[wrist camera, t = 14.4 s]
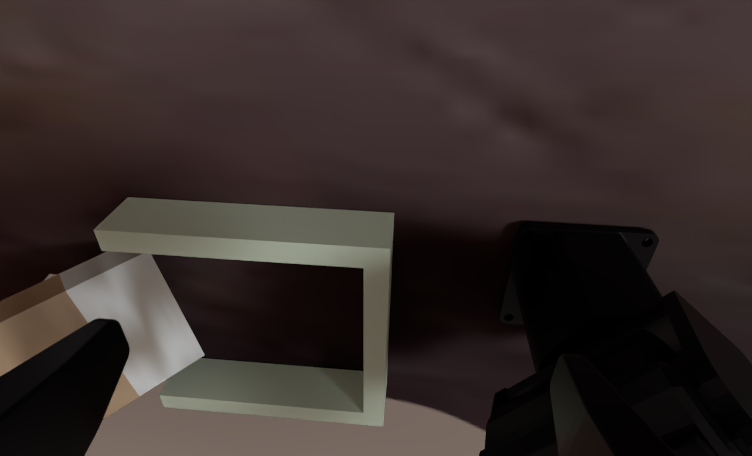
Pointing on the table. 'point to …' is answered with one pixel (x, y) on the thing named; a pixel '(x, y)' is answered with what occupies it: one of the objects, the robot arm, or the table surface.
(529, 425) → the robot arm
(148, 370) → the two-tone wooden slab
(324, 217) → the green c-shaped bracket
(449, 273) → the table surface
